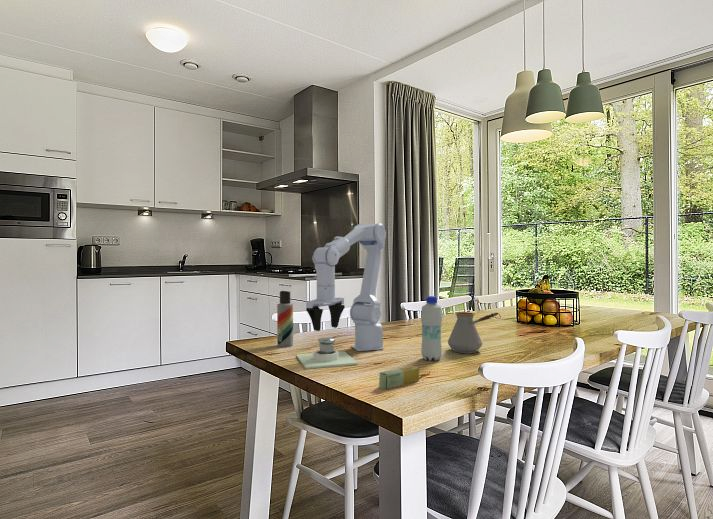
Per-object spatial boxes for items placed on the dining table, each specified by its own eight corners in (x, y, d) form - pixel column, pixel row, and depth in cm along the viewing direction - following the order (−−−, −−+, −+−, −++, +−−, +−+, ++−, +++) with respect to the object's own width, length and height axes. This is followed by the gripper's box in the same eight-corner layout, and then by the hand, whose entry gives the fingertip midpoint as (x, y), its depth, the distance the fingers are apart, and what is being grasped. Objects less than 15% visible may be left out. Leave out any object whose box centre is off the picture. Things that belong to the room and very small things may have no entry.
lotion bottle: (274, 346, 157) (273, 291, 157) (282, 343, 163) (282, 289, 162) (288, 347, 155) (287, 291, 155) (296, 344, 161) (295, 290, 160)
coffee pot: (440, 349, 152) (440, 306, 152) (466, 345, 157) (466, 304, 157) (484, 363, 133) (484, 314, 132) (512, 358, 138) (512, 311, 138)
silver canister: (338, 357, 138) (338, 338, 138) (326, 360, 134) (326, 341, 134) (326, 355, 141) (326, 336, 141) (314, 358, 137) (314, 339, 137)
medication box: (385, 390, 108) (385, 374, 107) (378, 388, 110) (378, 372, 110) (419, 381, 115) (419, 366, 115) (412, 379, 117) (412, 364, 117)
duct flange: (343, 352, 147) (343, 345, 147) (358, 364, 132) (358, 356, 132) (296, 356, 142) (296, 348, 142) (305, 369, 127) (305, 360, 127)
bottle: (443, 357, 140) (443, 295, 140) (440, 362, 134) (440, 297, 133) (422, 356, 142) (422, 294, 142) (418, 360, 136) (418, 296, 135)
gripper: (333, 283, 145) (333, 324, 145) (299, 286, 134) (299, 330, 134) (348, 284, 140) (348, 326, 140) (315, 287, 129) (315, 333, 129)
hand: (325, 328), depth 137 cm, fingers open, 7 cm apart
